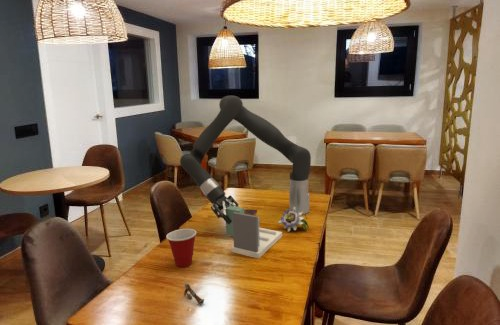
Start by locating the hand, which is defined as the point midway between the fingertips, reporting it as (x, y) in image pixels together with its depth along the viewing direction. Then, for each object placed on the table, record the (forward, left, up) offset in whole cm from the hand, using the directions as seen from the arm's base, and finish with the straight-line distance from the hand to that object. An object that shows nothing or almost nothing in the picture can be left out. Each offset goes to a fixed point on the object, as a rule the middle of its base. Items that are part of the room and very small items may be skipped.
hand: (235, 219), depth 155 cm
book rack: (-6, +12, -7) cm, 15 cm away
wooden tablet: (-8, -17, -8) cm, 20 cm away
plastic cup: (+25, +19, -7) cm, 32 cm away
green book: (0, 0, -7) cm, 7 cm away
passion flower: (-26, +2, -7) cm, 27 cm away
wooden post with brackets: (+25, +43, -7) cm, 50 cm away
